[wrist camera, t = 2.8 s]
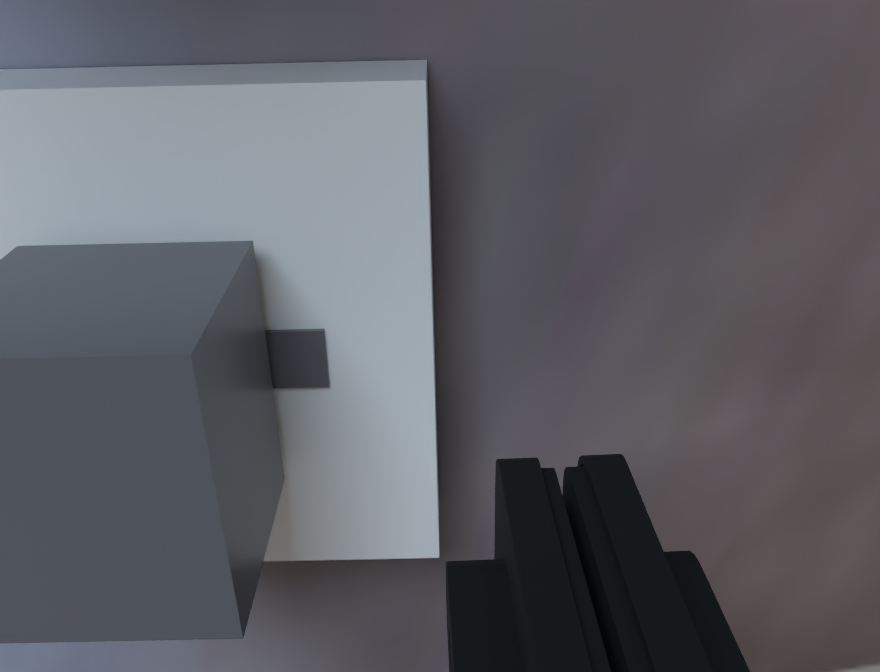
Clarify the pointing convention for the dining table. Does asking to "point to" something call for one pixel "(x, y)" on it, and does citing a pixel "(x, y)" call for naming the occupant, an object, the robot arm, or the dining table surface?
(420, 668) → the dining table surface
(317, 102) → the console
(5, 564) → the fader knob
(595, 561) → the robot arm
